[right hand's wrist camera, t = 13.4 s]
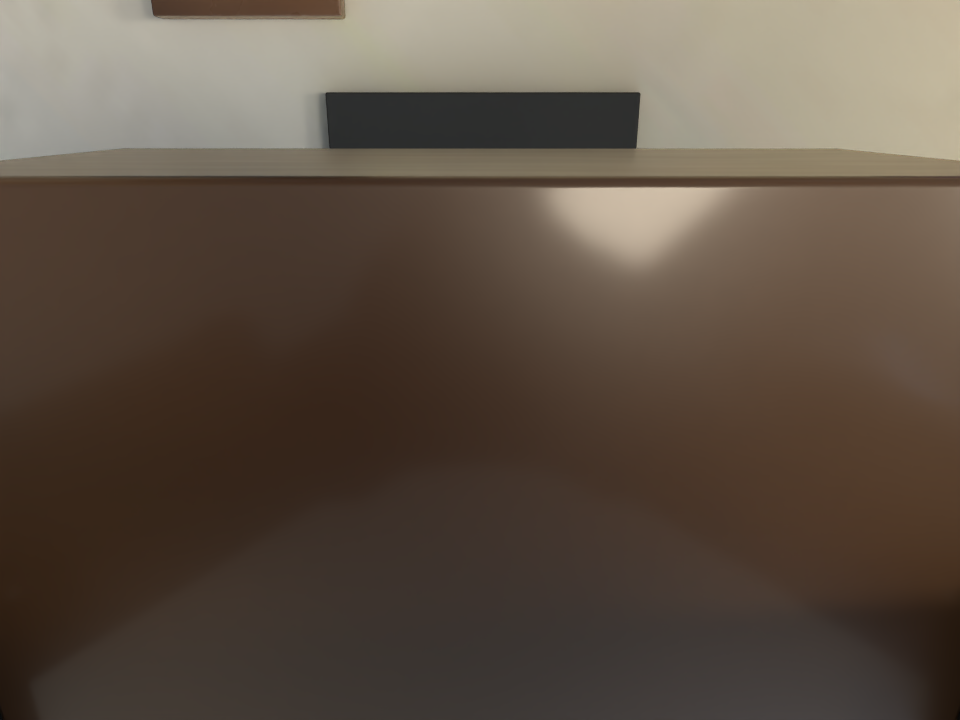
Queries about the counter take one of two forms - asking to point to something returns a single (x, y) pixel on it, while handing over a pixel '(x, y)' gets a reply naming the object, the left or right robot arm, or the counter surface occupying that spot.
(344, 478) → the lid
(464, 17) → the counter surface
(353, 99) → the coaster
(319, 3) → the wooden base with post
